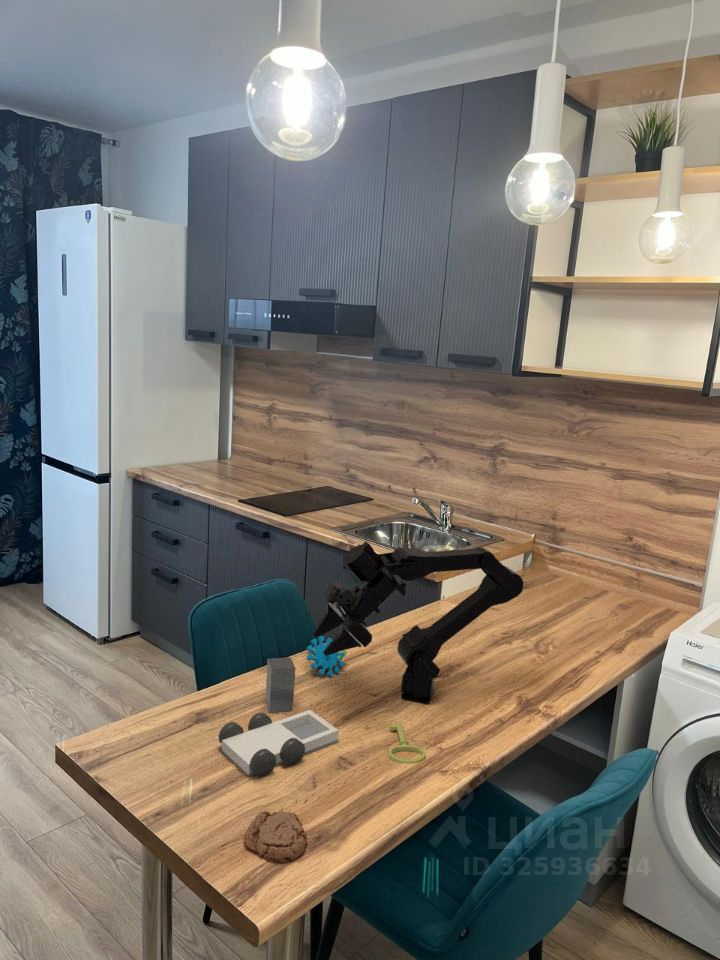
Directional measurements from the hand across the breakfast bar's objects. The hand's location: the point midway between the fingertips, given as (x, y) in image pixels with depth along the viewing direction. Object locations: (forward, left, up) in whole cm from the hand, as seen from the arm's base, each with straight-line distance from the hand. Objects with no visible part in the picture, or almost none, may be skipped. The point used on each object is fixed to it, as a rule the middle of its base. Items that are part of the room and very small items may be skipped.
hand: (319, 644), depth 156 cm
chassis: (0, +19, -14) cm, 23 cm away
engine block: (+7, +4, -14) cm, 16 cm away
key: (-22, +9, -14) cm, 28 cm away
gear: (+3, -16, -14) cm, 21 cm away
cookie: (-9, +43, -14) cm, 46 cm away
